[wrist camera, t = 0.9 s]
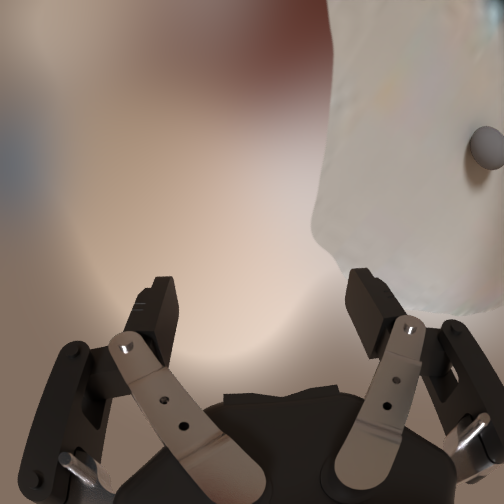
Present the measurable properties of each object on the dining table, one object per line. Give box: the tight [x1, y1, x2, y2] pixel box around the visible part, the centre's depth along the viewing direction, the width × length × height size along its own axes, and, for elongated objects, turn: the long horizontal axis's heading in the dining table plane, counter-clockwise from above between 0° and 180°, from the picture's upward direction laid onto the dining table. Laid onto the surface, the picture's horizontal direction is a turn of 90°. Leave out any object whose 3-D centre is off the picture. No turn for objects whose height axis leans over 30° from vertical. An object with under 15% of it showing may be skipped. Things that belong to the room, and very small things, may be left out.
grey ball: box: [471, 126, 504, 170], centre depth 26 cm, size 6×6×6 cm
